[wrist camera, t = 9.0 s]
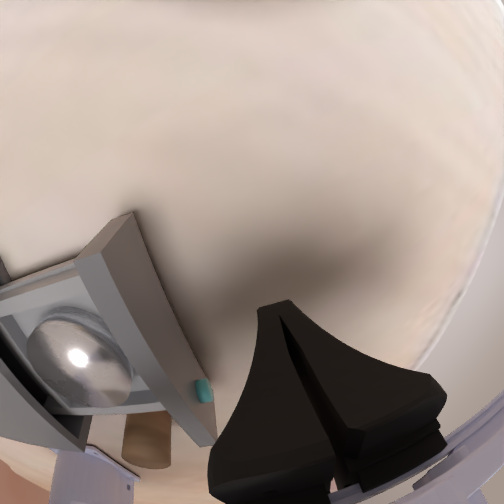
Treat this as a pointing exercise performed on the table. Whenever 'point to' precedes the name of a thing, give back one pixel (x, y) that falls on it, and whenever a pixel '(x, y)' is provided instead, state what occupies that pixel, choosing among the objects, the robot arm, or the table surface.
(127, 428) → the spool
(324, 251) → the table surface
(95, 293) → the tray
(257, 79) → the table surface
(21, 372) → the disc
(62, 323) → the disc
